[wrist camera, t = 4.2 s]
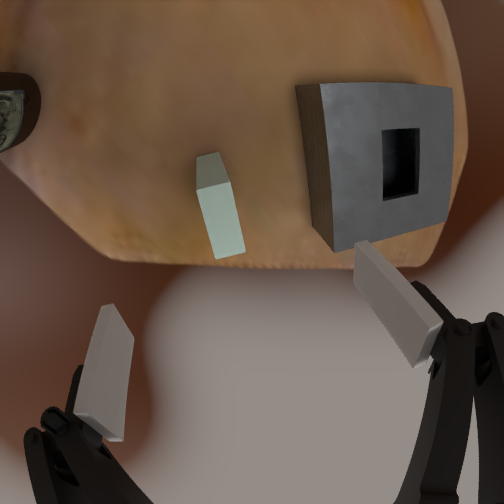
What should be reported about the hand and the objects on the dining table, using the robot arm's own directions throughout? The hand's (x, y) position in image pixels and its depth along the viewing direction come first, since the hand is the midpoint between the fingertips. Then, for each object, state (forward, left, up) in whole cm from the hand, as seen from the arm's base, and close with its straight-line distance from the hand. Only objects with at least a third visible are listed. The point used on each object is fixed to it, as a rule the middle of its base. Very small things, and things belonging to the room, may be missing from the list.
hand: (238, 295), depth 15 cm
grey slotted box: (+20, 0, -20) cm, 28 cm away
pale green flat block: (0, 0, -20) cm, 20 cm away
